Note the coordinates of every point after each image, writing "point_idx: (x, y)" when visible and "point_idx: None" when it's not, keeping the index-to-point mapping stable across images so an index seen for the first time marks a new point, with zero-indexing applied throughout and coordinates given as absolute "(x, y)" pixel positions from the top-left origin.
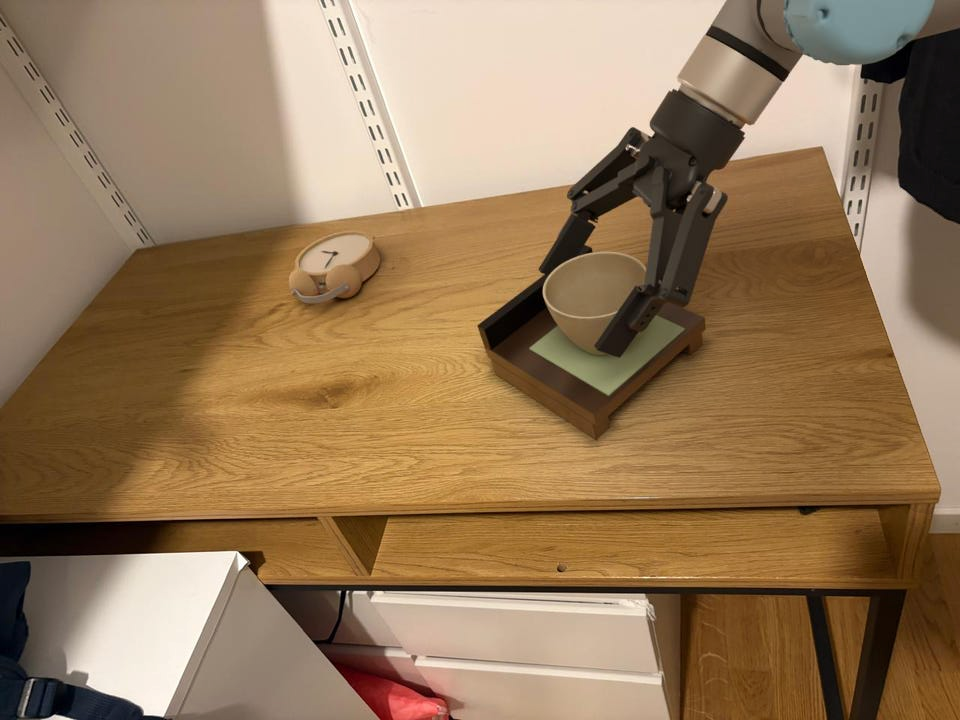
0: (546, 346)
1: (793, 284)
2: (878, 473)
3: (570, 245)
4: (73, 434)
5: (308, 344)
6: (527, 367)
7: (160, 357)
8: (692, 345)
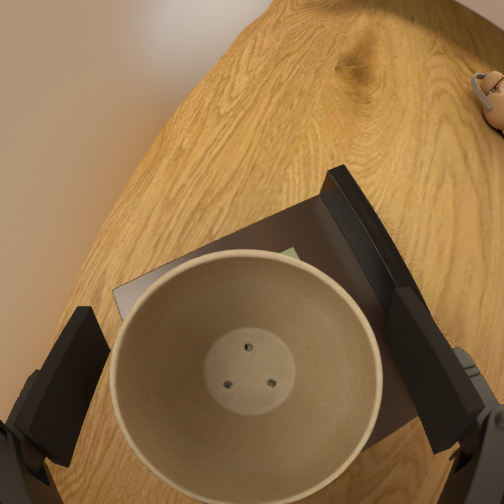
0: None
1: None
2: None
3: (423, 376)
4: None
5: (429, 74)
6: (252, 233)
7: (428, 15)
8: None
